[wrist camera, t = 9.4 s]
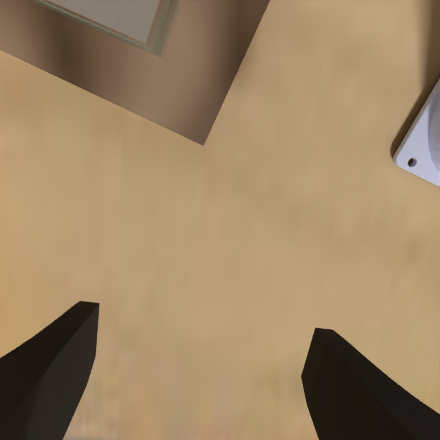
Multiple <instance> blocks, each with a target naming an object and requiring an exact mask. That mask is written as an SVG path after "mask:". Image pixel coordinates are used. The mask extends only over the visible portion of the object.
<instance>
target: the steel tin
mask: <svg viewBox="0 0 440 440" xmlns="http://www.w3.org/2000/svg"><path fill="white" fill-rule="evenodd" d="M30 1H32V2H35V3H37V4H39V5H41V6H44V7H46V8H48V9H50V10H52V11H54V12H56V13H59V14H61V15H63V16H66V17H68V18H70V19H72V20H75V21H77V22H79V23H82V24H84V25H86V26H88V27H91V28H93V29H95V30H98V31H100V32H102V33H104V34H107V35H109V36H111V37H113V38H116V39H118V40H120V41H123V42H125V43H127V44H129V45H132V46H134V47H136V48H139V49H141V50H143V51H145V52H148V53H150V54H152V55H154V56H157V57H159V58H161V59H163V58H164V55H165V53H166V50H167V47H168V44H169V41H170V38H171V35H172V32H173V29H174V26H175V23H176V20H177V17H178V14H179V11H180V8H181V5H182V2H183V0H30Z"/></svg>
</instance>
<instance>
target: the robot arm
mask: <svg viewBox="0 0 440 440" xmlns="http://www.w3.org/2000/svg"><path fill="white" fill-rule="evenodd" d="M411 158H413V163H412V164H411V165H409V166H408V160H409V159H411ZM393 162H394V164H395V165H397V166H398V167H400V168H402V169H404V170H406V171H408V172H411V173H413V174H415V175H417V176H419V177H421V178H423V179H425V180H427V181H429V182H431V183H433V184H435V185H437V186H439V187H440V78H439V80H438V82H437V83H436V85H435V87H434V88H433V90H432V92H431V94H430V95H429V97H428V99H427V100H426V102H425V104H424V105H423V107H422V109H421V110H420V112H419V114H418V115H417V117H416V119H415V120H414V122H413V124H412V126H411V127H410V129H409V131H408V132H407V134H406V136H405V137H404V139H403V141H402V142H401V144H400V146H399V147H398V149H397V151H396V152H395V154H394V157H393ZM98 317H99V303H93V302H84V301H79V302H78V303H77V304H75V305H74V306H73V307H71V308H70V309H69V310H68V311H66V312H65V313H64V314H63V315H61V316H60V317H59V318H57V319H56V320H55V321H54V322H52V323H51V324H50V325H48V326H47V327H46V328H44V329H43V330H42V331H40V332H39V333H38V334H36V335H35V336H33V337H32V338H31V339H29V340H28V341H26V342H25V343H23V344H22V345H20V346H19V347H17V348H16V349H14V350H13V351H11V352H9V353H8V354H6V355H5V356H3V357H1V358H0V440H63V437H64V435H65V433H66V431H67V429H68V426H69V424H70V422H71V420H72V417H73V415H74V413H75V411H76V408H77V406H78V404H79V402H80V399H81V397H82V395H83V392H84V390H85V388H86V385H87V382H88V379H89V376H90V373H91V370H92V366H93V363H94V360H95V356H96V344H97V330H98ZM301 378H302V383H303V388H304V393H305V398H306V402H307V406H308V409H309V412H310V415H311V418H312V421H313V424H314V427H315V430H316V432H317V435H318V438H319V440H440V414H438V413H437V412H436V411H434V410H433V409H431V408H430V407H428V406H427V405H425V404H424V403H422V402H421V401H419V400H418V399H417V398H415V397H414V396H413V395H411V394H410V393H409V392H407V391H406V390H405V389H403V388H402V387H401V386H400V385H398V384H397V383H396V382H394V381H393V380H392V379H391V378H389V377H388V376H387V375H386V374H385V373H383V372H382V371H381V370H380V369H379V368H377V367H376V366H375V365H374V364H373V363H371V362H370V361H369V360H368V359H367V358H366V357H365V356H363V355H362V354H361V353H360V352H359V351H358V350H357V349H355V348H354V347H353V346H352V345H351V344H350V343H348V342H347V341H346V340H345V339H344V338H343V337H341V336H340V335H339V334H338V333H336V332H335V331H334V330H331V329H322V328H315V331H314V334H313V338H312V341H311V344H310V348H309V351H308V355H307V358H306V362H305V365H304V369H303V372H302V375H301Z"/></svg>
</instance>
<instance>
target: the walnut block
mask: <svg viewBox="0 0 440 440" xmlns="http://www.w3.org/2000/svg"><path fill="white" fill-rule="evenodd" d="M269 1H270V0H183V2H182V5H181V8H180V11H179V14H178V17H177V20H176V23H175V26H174V29H173V32H172V35H171V38H170V41H169V44H168V47H167V50H166V53H165V55H164V58H163V59H161V58H159V57H157V56H154V55H152V54H150V53H148V52H145V51H143V50H141V49H139V48H136V47H134V46H132V45H129V44H127V43H125V42H123V41H120V40H118V39H116V38H113V37H111V36H109V35H107V34H104V33H102V32H100V31H98V30H95V29H93V28H91V27H88V26H86V25H84V24H82V23H79V22H77V21H75V20H72V19H70V18H68V17H66V16H63V15H61V14H59V13H56V12H54V11H52V10H50V9H48V8H46V7H44V6H41V5H39V4H37V3H35V2H32V1H30V0H0V50H2V51H4V52H6V53H8V54H10V55H12V56H14V57H16V58H19V59H21V60H23V61H25V62H27V63H29V64H31V65H33V66H36V67H38V68H40V69H42V70H44V71H46V72H48V73H50V74H52V75H55V76H57V77H59V78H61V79H63V80H65V81H67V82H69V83H72V84H74V85H76V86H78V87H80V88H82V89H84V90H86V91H89V92H91V93H93V94H95V95H97V96H99V97H101V98H103V99H106V100H108V101H110V102H112V103H114V104H116V105H118V106H120V107H123V108H125V109H127V110H129V111H131V112H133V113H135V114H137V115H139V116H142V117H144V118H146V119H148V120H150V121H152V122H154V123H156V124H159V125H161V126H163V127H165V128H167V129H169V130H171V131H173V132H176V133H178V134H180V135H182V136H184V137H186V138H188V139H190V140H193V141H195V142H197V143H199V144H201V145H204V143H205V141H206V139H207V137H208V135H209V132H210V130H211V128H212V126H213V124H214V121H215V119H216V117H217V115H218V113H219V111H220V108H221V106H222V104H223V102H224V100H225V97H226V95H227V93H228V91H229V89H230V87H231V84H232V82H233V80H234V78H235V76H236V73H237V71H238V69H239V67H240V65H241V62H242V60H243V58H244V56H245V54H246V52H247V49H248V47H249V45H250V43H251V41H252V38H253V36H254V34H255V32H256V30H257V28H258V25H259V23H260V21H261V19H262V17H263V14H264V12H265V10H266V8H267V6H268V4H269Z"/></svg>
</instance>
